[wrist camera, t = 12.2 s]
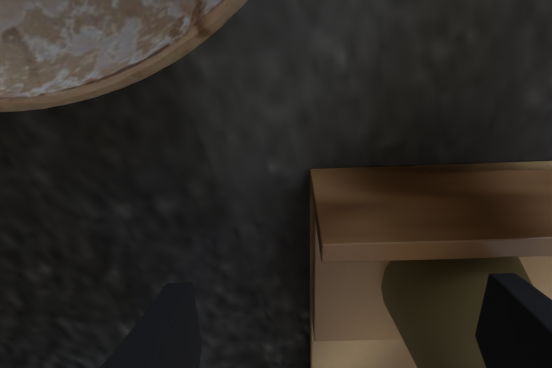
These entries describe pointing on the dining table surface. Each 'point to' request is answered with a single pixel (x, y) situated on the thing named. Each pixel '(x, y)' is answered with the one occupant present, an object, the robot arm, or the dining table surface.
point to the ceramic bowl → (95, 45)
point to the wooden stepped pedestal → (412, 242)
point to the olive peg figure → (442, 306)
